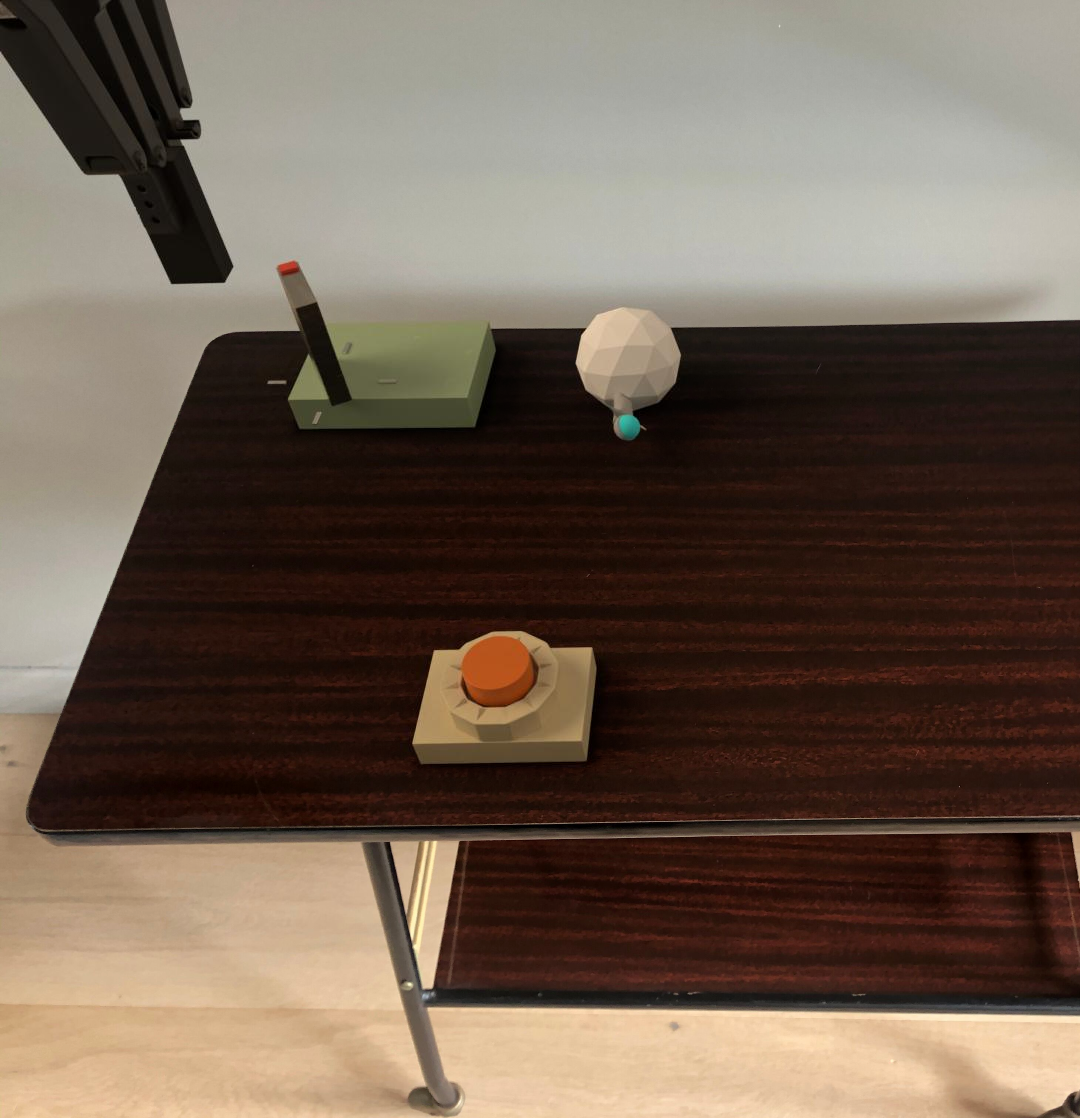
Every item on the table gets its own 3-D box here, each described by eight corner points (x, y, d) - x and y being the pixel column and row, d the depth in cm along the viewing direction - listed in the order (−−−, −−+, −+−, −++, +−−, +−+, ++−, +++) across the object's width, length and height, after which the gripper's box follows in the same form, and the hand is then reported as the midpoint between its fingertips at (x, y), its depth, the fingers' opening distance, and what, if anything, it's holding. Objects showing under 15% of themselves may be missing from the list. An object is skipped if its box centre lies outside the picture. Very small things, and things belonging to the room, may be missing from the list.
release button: (462, 707, 66) (455, 690, 65) (473, 654, 69) (467, 636, 68) (529, 706, 66) (524, 688, 65) (538, 652, 69) (533, 634, 68)
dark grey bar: (352, 400, 87) (316, 298, 80) (332, 407, 87) (293, 305, 80) (332, 359, 91) (296, 258, 84) (312, 365, 90) (274, 264, 83)
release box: (420, 764, 68) (404, 726, 65) (441, 671, 73) (427, 631, 70) (586, 761, 68) (577, 723, 65) (596, 668, 73) (588, 628, 70)
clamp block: (261, 455, 88) (247, 424, 85) (308, 352, 96) (296, 322, 94) (467, 453, 87) (459, 422, 85) (495, 350, 96) (488, 319, 94)
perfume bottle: (697, 324, 92) (708, 434, 85) (621, 373, 95) (625, 483, 88) (632, 267, 86) (639, 379, 79) (554, 321, 90) (554, 433, 83)
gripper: (-67, -336, 44) (173, 209, 62) (-268, -255, 35) (77, 356, 53) (123, -343, 44) (310, 206, 61) (-32, -263, 35) (237, 352, 53)
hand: (202, 275), depth 57 cm, fingers closed
